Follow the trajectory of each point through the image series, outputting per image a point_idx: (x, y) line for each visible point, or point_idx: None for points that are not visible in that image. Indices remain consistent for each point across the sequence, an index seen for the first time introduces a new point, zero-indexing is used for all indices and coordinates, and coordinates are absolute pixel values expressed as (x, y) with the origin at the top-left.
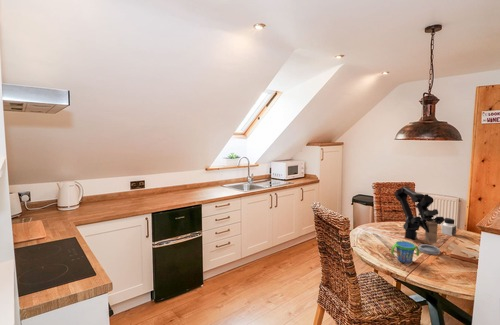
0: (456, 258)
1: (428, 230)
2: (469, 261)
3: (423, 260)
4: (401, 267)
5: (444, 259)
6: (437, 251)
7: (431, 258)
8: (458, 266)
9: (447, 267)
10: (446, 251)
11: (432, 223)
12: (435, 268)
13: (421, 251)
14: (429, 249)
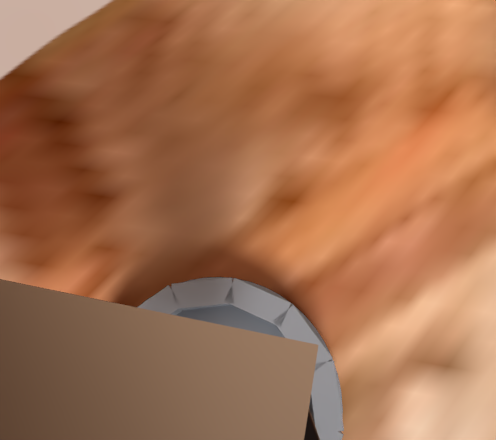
0: (86, 163)
1: None
2: (27, 90)
3: (474, 174)
4: None
5: (229, 161)
6: (194, 281)
7: (350, 203)
8: (224, 23)
9: (341, 19)
10: None
11: (144, 311)
12: (468, 17)
13: (339, 388)
14: None
